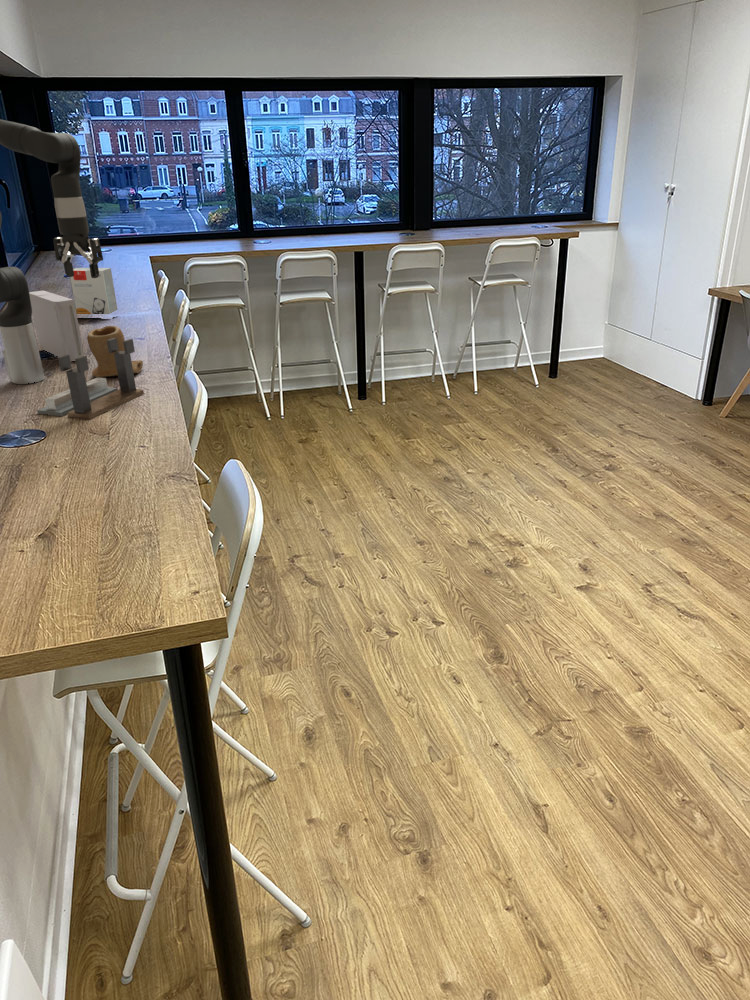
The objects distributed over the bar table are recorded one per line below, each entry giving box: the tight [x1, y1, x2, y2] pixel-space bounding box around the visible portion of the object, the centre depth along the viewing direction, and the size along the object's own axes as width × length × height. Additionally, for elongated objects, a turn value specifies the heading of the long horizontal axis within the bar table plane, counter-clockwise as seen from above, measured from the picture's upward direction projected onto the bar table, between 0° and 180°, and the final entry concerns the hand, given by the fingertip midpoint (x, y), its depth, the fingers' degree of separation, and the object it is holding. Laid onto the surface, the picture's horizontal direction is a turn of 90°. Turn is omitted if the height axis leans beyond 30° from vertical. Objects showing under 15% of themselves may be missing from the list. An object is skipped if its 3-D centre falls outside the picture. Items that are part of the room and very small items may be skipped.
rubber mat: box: [36, 386, 118, 417], centre depth 207 cm, size 8×23×1 cm, turn 160°
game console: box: [29, 290, 86, 361], centre depth 254 cm, size 6×27×20 cm, turn 41°
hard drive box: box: [69, 267, 119, 314], centre depth 312 cm, size 16×8×20 cm, turn 81°
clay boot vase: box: [86, 325, 144, 378], centre depth 229 cm, size 15×12×15 cm
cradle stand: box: [57, 338, 145, 420], centre depth 201 cm, size 7×23×16 cm, turn 160°
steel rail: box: [44, 377, 109, 411], centre depth 207 cm, size 3×21×3 cm, turn 160°
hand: (82, 277), depth 209 cm, fingers open, 8 cm apart
